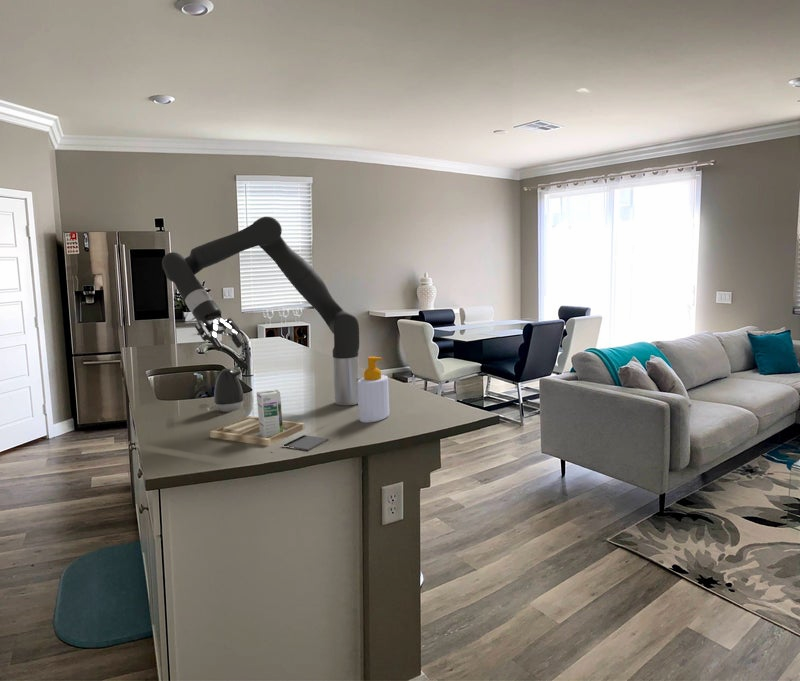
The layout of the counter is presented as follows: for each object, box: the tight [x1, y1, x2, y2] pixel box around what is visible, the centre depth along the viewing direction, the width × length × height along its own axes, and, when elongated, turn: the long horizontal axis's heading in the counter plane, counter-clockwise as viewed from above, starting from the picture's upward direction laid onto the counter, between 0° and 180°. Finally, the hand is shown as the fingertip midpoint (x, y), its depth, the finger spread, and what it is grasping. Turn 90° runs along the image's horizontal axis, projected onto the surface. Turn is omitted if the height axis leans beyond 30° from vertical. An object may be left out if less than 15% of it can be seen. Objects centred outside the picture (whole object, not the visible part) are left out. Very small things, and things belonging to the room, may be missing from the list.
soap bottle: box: [357, 356, 390, 424], centre depth 189 cm, size 13×8×20 cm, turn 148°
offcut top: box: [223, 419, 259, 434], centre depth 177 cm, size 6×11×2 cm, turn 150°
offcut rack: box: [209, 416, 306, 447], centre depth 174 cm, size 22×17×3 cm
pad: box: [283, 434, 330, 452], centre depth 167 cm, size 10×10×1 cm
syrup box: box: [256, 389, 284, 438], centre depth 171 cm, size 6×6×14 cm
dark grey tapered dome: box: [213, 368, 245, 413], centre depth 205 cm, size 10×10×15 cm
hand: (231, 347), depth 176 cm, fingers open, 8 cm apart
